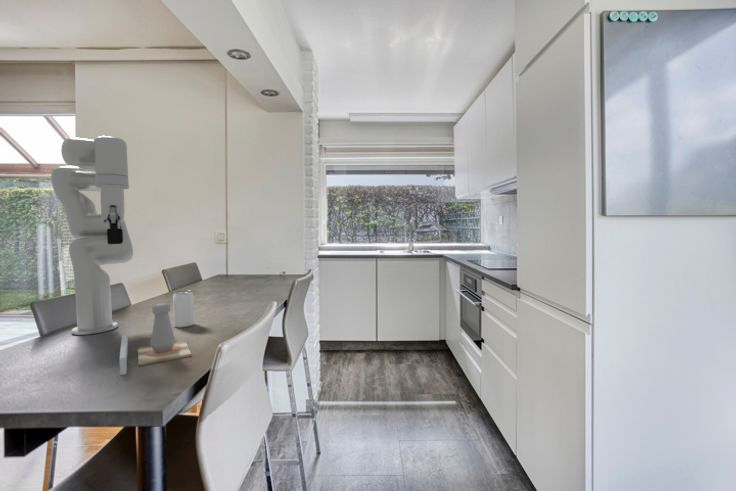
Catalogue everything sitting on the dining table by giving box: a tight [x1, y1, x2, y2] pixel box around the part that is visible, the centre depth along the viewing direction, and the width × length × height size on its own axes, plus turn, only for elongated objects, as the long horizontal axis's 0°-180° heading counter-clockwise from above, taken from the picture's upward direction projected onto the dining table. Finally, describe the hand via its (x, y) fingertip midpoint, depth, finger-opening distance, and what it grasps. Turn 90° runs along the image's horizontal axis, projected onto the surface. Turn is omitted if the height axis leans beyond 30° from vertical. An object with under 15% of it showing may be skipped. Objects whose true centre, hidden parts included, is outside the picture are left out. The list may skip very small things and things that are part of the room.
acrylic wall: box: [118, 334, 129, 376], centre depth 93 cm, size 22×1×4 cm, turn 33°
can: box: [172, 289, 196, 329], centre depth 126 cm, size 6×6×12 cm
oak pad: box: [137, 339, 192, 367], centre depth 98 cm, size 14×12×1 cm
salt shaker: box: [150, 302, 176, 353], centre depth 98 cm, size 6×6×13 cm
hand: (115, 243), depth 101 cm, fingers open, 9 cm apart
